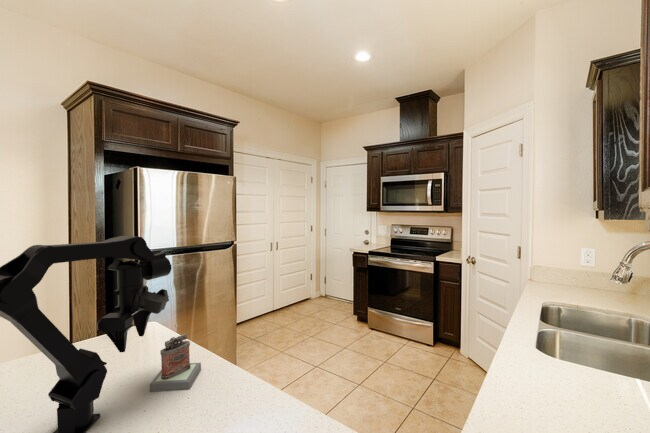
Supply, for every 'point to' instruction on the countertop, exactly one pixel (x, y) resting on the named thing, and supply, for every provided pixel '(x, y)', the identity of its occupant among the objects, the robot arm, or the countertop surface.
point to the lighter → (175, 357)
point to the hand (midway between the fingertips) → (132, 343)
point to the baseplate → (176, 380)
